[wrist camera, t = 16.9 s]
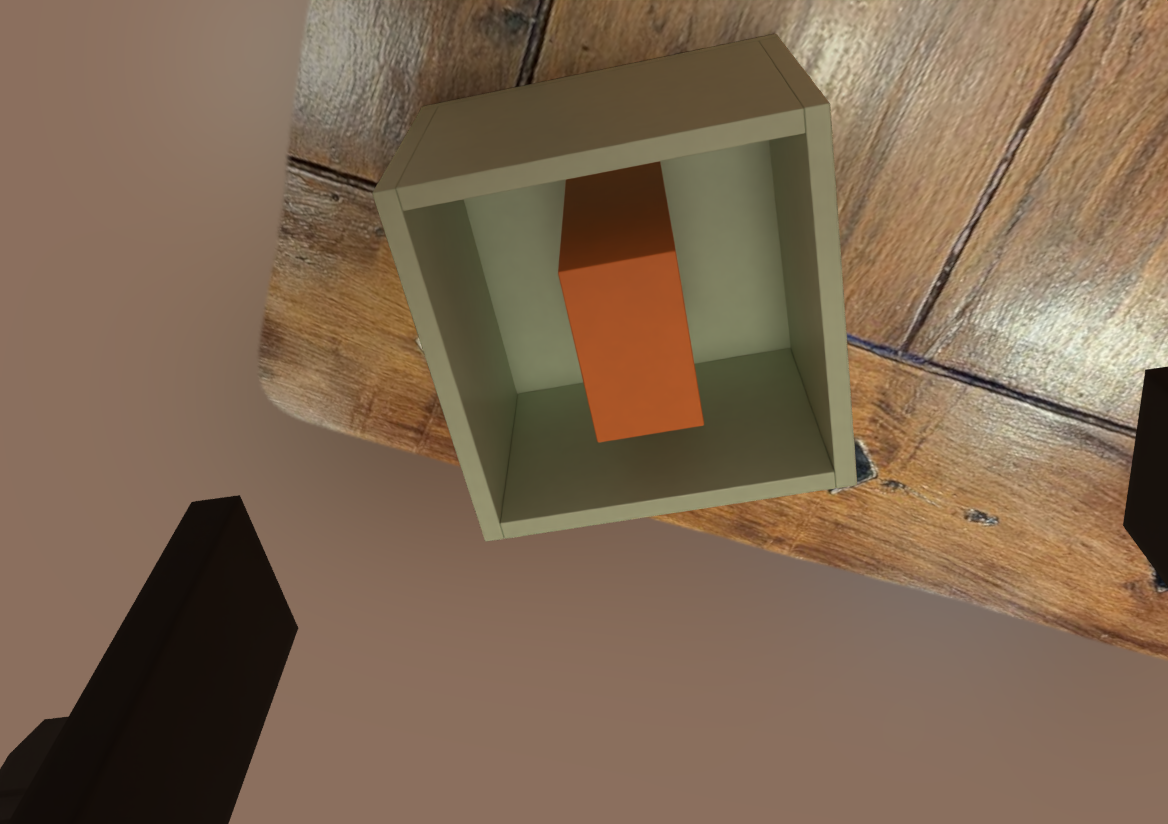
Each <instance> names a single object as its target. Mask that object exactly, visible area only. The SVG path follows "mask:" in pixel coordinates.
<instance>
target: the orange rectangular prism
mask: <svg viewBox="0 0 1168 824" xmlns="http://www.w3.org/2000/svg"><path fill="white" fill-rule="evenodd" d="M558 276H559V280H560V284H561V289H562V293H563V297H564V301H565V306H566V310H567V314H568V319H569V323H570V327H571V331H572V336H573V340H574V344H575V349H576V353H577V357H578V361H579V366H580V370H581V374H582V379H583V383H584V387H585V391H586V396H587V400H588V404H589V408H590V413H591V417H592V421H593V426H594V430H595V434H596V438H597V442H606V441H612V440H618V439H624V438H630V437H636V436H643V435H649V434H655V433H661V432H667V431H673V430H679V429H686V428H692V427H698V426H703V425H704V419H703V413H702V407H701V401H700V395H699V389H698V383H697V376H696V370H695V364H694V358H693V352H692V346H691V340H690V334H689V328H688V322H687V315H686V309H685V303H684V297H683V291H682V285H681V279H680V273H679V267H678V261H677V255H676V249H675V243H674V237H673V231H672V226H671V220H670V214H669V209H668V203H667V197H666V191H665V186H664V180H663V174H662V168H661V163H660V161H659V162H654V163H649V164H644V165H639V166H633V167H628V168H623V169H618V170H613V171H608V172H602V173H597V174H592V175H587V176H582V177H577V178H571V179H566V183H565V195H564V207H563V219H562V231H561V243H560V255H559V267H558Z"/></svg>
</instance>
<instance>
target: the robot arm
mask: <svg viewBox="0 0 1168 824" xmlns="http://www.w3.org/2000/svg"><path fill="white" fill-rule="evenodd" d="M1123 526H1124V527H1125V529H1126V530H1127V532H1128V533H1129V534H1130V536H1131V537H1132V538H1133V540H1134V541H1135V543H1136V544H1137V545H1138V547H1139V548H1140V549H1141V551H1142V552H1143V554H1144V555H1145V556H1146V558H1147V559H1148V560H1149V562H1150V563H1151V564H1152V566H1153V567H1154V569H1155V570H1156V571H1157V573H1158V574H1159V575H1160V577H1161V578H1162V580H1163V581H1164V582H1165V584H1166V585H1167V586H1168V367H1162V368H1154V369H1147V370H1145V377H1144V384H1143V391H1142V397H1141V404H1140V411H1139V418H1138V425H1137V432H1136V439H1135V446H1134V453H1133V460H1132V467H1131V474H1130V481H1129V488H1128V495H1127V502H1126V508H1125V515H1124V522H1123ZM297 630H298V626H297V624H296V622H295V620H294V617H293V615H292V613H291V610H290V608H289V606H288V604H287V601H286V599H285V597H284V595H283V592H282V590H281V588H280V585H279V583H278V581H277V579H276V576H275V574H274V572H273V570H272V567H271V565H270V563H269V561H268V558H267V556H266V554H265V551H264V549H263V547H262V545H261V542H260V540H259V538H258V536H257V533H256V531H255V529H254V526H253V524H252V522H251V520H250V517H249V515H248V513H247V511H246V508H245V506H244V504H243V501H242V499H241V497H240V495H239V496H231V497H224V498H217V499H210V500H202V501H195V502H192V503H191V504H190V506H189V507H188V509H187V511H186V513H185V514H184V516H183V518H182V520H181V521H180V523H179V525H178V527H177V529H176V530H175V532H174V534H173V535H172V537H171V539H170V541H169V543H168V544H167V546H166V548H165V549H164V551H163V553H162V555H161V557H160V558H159V560H158V562H157V563H156V565H155V567H154V569H153V570H152V572H151V574H150V576H149V578H148V579H147V581H146V583H145V584H144V586H143V588H142V590H141V592H140V593H139V595H138V597H137V598H136V600H135V602H134V604H133V605H132V607H131V609H130V611H129V612H128V614H127V616H126V617H125V620H124V621H123V623H122V625H121V626H120V628H119V630H118V631H117V633H116V635H115V637H114V638H113V640H112V642H111V644H110V646H109V647H108V649H107V651H106V653H105V654H104V656H103V658H102V659H101V661H100V663H99V665H98V666H97V668H96V670H95V672H94V673H93V675H92V677H91V679H90V680H89V682H88V684H87V686H86V688H85V689H84V691H83V693H82V694H81V696H80V698H79V700H78V701H77V703H76V705H75V707H74V708H73V710H72V712H71V714H70V716H69V717H62V718H53V719H45V720H44V721H43V722H42V723H40V725H39V726H38V727H36V728H35V729H34V730H33V732H32V733H30V734H29V735H28V736H27V737H26V738H25V739H24V740H23V741H22V742H21V743H20V744H19V745H18V746H17V747H16V748H15V749H14V750H13V751H12V752H11V753H10V754H9V756H8V757H7V759H6V761H5V762H4V764H3V765H2V767H1V769H0V824H228V823H229V821H230V818H231V815H232V812H233V809H234V807H235V804H236V801H237V798H238V795H239V793H240V790H241V787H242V784H243V781H244V778H245V775H246V773H247V770H248V767H249V764H250V762H251V759H252V756H253V753H254V750H255V747H256V745H257V742H258V739H259V736H260V734H261V731H262V728H263V725H264V722H265V719H266V717H267V714H268V711H269V708H270V706H271V703H272V700H273V697H274V694H275V692H276V689H277V686H278V683H279V680H280V677H281V675H282V672H283V669H284V666H285V664H286V661H287V658H288V655H289V652H290V650H291V647H292V644H293V641H294V638H295V635H296V633H297Z"/></svg>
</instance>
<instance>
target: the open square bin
mask: <svg viewBox="0 0 1168 824" xmlns="http://www.w3.org/2000/svg"><path fill="white" fill-rule="evenodd" d="M659 161H660V163H661V168H662V174H663V180H664V186H665V191H666V197H667V203H668V209H669V214H670V220H671V226H672V231H673V237H674V243H675V249H676V255H677V261H678V267H679V273H680V279H681V285H682V291H683V297H684V303H685V309H686V315H687V322H688V328H689V334H690V340H691V346H692V352H693V358H694V364H695V370H696V376H697V383H698V389H699V395H700V401H701V407H702V413H703V419H704V425H703V426H698V427H692V428H686V429H679V430H673V431H667V432H661V433H655V434H649V435H643V436H636V437H630V438H624V439H618V440H612V441H606V442H597V438H596V434H595V430H594V426H593V421H592V417H591V413H590V408H589V404H588V400H587V396H586V391H585V387H584V383H583V379H582V374H581V370H580V366H579V361H578V357H577V353H576V349H575V344H574V340H573V336H572V331H571V327H570V323H569V319H568V314H567V310H566V306H565V301H564V297H563V293H562V289H561V284H560V280H559V276H558V267H559V255H560V243H561V231H562V219H563V207H564V195H565V183H566V179H571V178H577V177H582V176H587V175H592V174H597V173H602V172H608V171H613V170H618V169H623V168H628V167H633V166H639V165H644V164H649V163H654V162H659ZM372 195H373V198H374V201H375V204H376V207H377V210H378V213H379V216H380V219H381V222H382V225H383V228H384V231H385V235H386V238H387V241H388V244H389V247H390V250H391V253H392V256H393V259H394V262H395V265H396V268H397V272H398V275H399V278H400V281H401V284H402V287H403V290H404V293H405V296H406V299H407V302H408V305H409V308H410V312H411V315H412V318H413V321H414V324H415V327H416V330H417V333H418V336H419V339H420V342H421V345H422V349H423V352H424V355H425V358H426V361H427V364H428V367H429V370H430V373H431V376H432V379H433V382H434V385H435V389H436V392H437V395H438V398H439V401H440V404H441V407H442V410H443V413H444V416H445V419H446V422H447V426H448V429H449V432H450V435H451V438H452V441H453V444H454V447H455V450H456V453H457V456H458V459H459V462H460V466H461V469H462V472H463V475H464V478H465V481H466V484H467V487H468V490H469V493H470V496H471V499H472V502H473V506H474V509H475V512H476V515H477V518H478V521H479V524H480V527H481V530H482V533H483V536H484V539H485V541H493V540H499V539H504V538H513V537H519V536H526V535H532V534H539V533H545V532H552V531H559V530H565V529H572V528H578V527H585V526H591V525H598V524H604V523H611V522H618V521H624V520H631V519H637V518H644V517H650V516H657V515H664V514H670V513H677V512H683V511H690V510H696V509H703V508H709V507H716V506H723V505H729V504H736V503H742V502H749V501H755V500H762V499H769V498H775V497H782V496H788V495H795V494H801V493H808V492H814V491H821V490H828V489H834V488H835V487H836V488H841V487H848V486H854V485H857V476H856V462H855V448H854V433H853V419H852V405H851V391H850V377H849V363H848V349H847V335H846V320H845V306H844V292H843V278H842V264H841V250H840V236H839V222H838V207H837V193H836V179H835V165H834V151H833V137H832V123H831V109H830V103H829V102H828V100H827V99H826V98H825V96H824V95H823V94H822V93H821V91H820V90H819V89H818V87H817V86H816V85H815V83H814V82H813V81H812V80H811V78H810V77H809V76H808V74H807V73H806V72H805V70H804V69H803V68H802V67H801V65H800V64H799V63H798V61H797V60H796V59H795V57H794V56H793V55H792V54H791V52H790V51H789V50H788V48H787V47H786V46H785V45H784V43H783V42H782V41H781V39H780V38H779V37H778V35H777V34H772V35H768V36H763V37H758V38H753V39H748V40H743V41H738V42H734V43H729V44H724V45H719V46H714V47H709V48H704V49H699V50H695V51H690V52H685V53H680V54H675V55H670V56H665V57H661V58H656V59H651V60H646V61H641V62H636V63H631V64H627V65H622V66H617V67H612V68H607V69H602V70H597V71H593V72H588V73H583V74H578V75H573V76H568V77H563V78H559V79H554V80H549V81H544V82H539V83H534V84H529V85H524V86H520V87H515V88H510V89H505V90H500V91H495V92H490V93H486V94H481V95H476V96H471V97H466V98H461V99H456V100H452V101H447V102H442V103H437V104H432V105H427V106H423V107H422V108H421V109H420V111H419V113H418V115H417V116H416V118H415V120H414V122H413V123H412V125H411V127H410V129H409V130H408V132H407V134H406V135H405V137H404V139H403V141H402V142H401V144H400V146H399V148H398V149H397V151H396V153H395V155H394V156H393V158H392V160H391V162H390V163H389V165H388V167H387V168H386V170H385V172H384V174H383V175H382V177H381V179H380V181H379V182H378V184H377V186H376V188H375V189H374V191H373V194H372Z"/></svg>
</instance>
